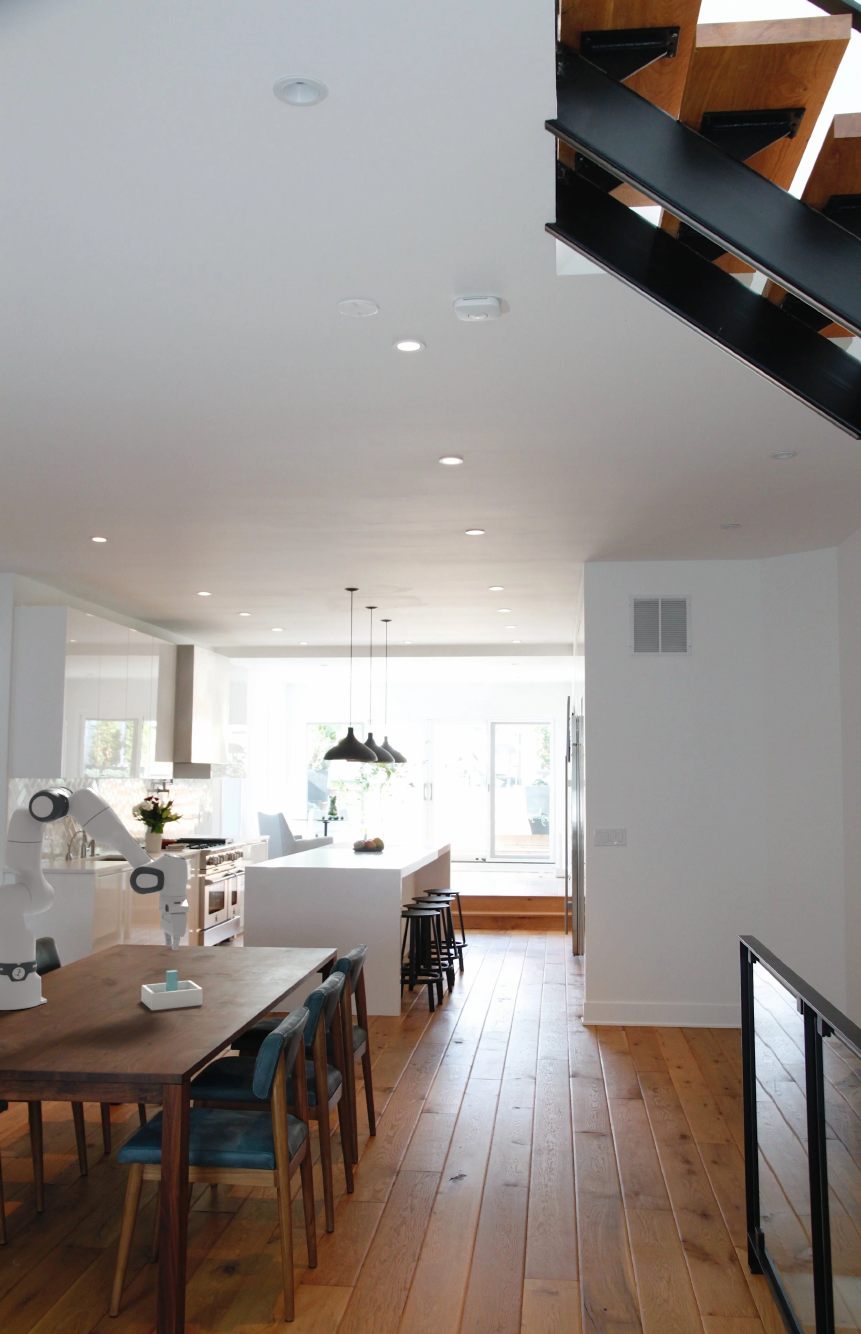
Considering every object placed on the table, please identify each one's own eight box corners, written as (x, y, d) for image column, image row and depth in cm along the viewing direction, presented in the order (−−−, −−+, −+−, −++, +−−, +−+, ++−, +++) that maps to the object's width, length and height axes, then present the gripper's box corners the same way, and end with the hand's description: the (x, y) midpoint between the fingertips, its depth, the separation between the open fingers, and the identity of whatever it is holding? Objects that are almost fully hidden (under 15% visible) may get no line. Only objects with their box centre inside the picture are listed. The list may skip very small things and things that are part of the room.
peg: (165, 1002, 335) (166, 971, 336) (175, 1001, 336) (175, 970, 337) (168, 1004, 332) (168, 972, 333) (177, 1003, 334) (177, 971, 335)
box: (141, 1001, 338) (141, 985, 338) (190, 995, 345) (190, 980, 346) (151, 1010, 324) (152, 994, 324) (202, 1004, 331) (202, 988, 331)
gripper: (156, 901, 346) (154, 943, 344) (170, 908, 328) (169, 953, 326) (175, 900, 348) (173, 942, 347) (190, 907, 330) (189, 951, 329)
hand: (171, 947), depth 336 cm, fingers open, 8 cm apart
